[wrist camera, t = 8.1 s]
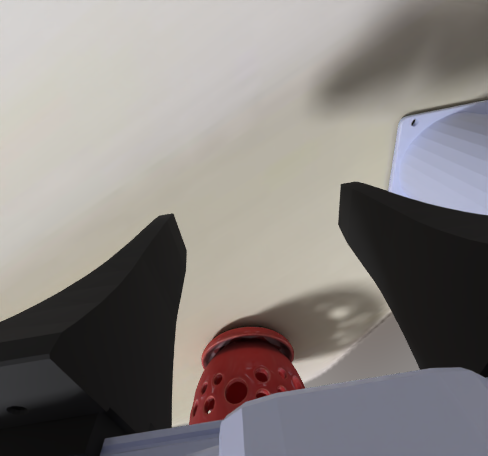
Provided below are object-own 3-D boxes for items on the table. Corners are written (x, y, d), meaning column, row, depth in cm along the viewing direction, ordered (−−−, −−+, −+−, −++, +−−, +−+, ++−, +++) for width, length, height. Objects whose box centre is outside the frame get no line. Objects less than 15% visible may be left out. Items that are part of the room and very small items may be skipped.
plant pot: (194, 316, 29) (181, 448, 20) (303, 316, 31) (343, 437, 21) (194, 375, 37) (185, 494, 27) (284, 373, 38) (307, 484, 28)
